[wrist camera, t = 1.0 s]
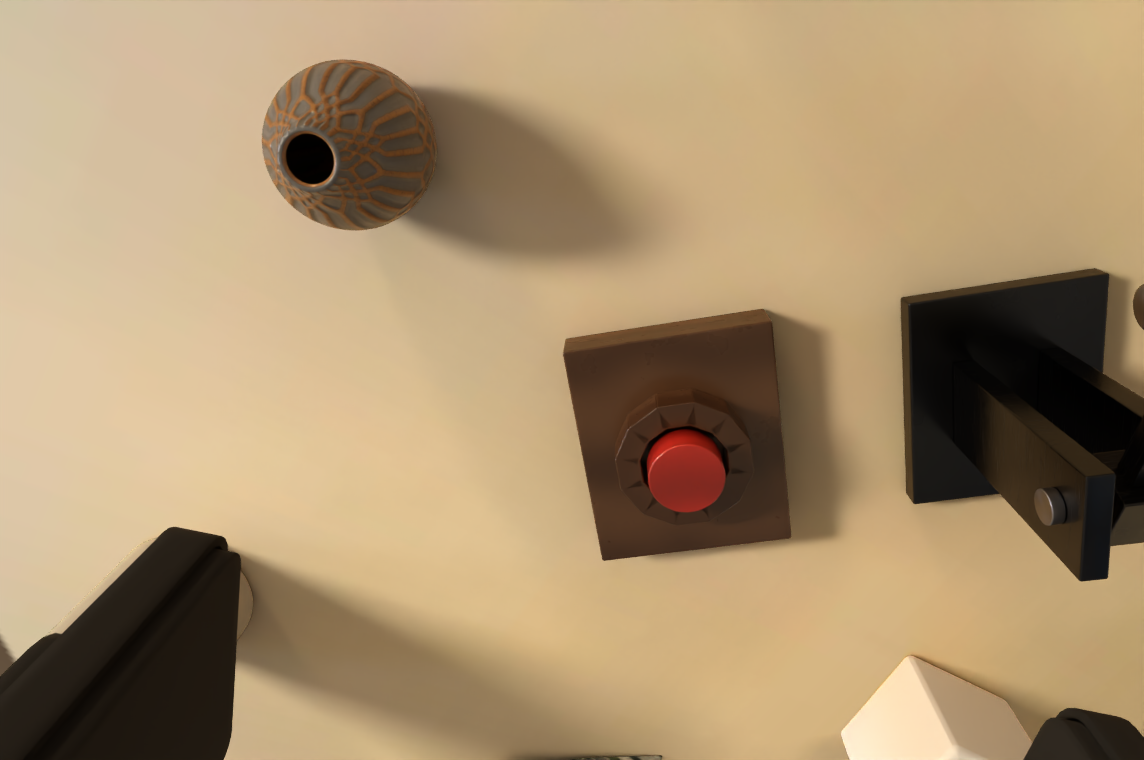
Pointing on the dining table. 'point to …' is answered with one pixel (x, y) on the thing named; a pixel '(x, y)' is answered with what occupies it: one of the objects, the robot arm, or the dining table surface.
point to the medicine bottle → (933, 720)
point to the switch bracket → (1019, 406)
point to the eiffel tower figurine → (625, 758)
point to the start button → (685, 471)
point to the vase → (349, 144)
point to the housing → (673, 402)
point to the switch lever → (1128, 472)
